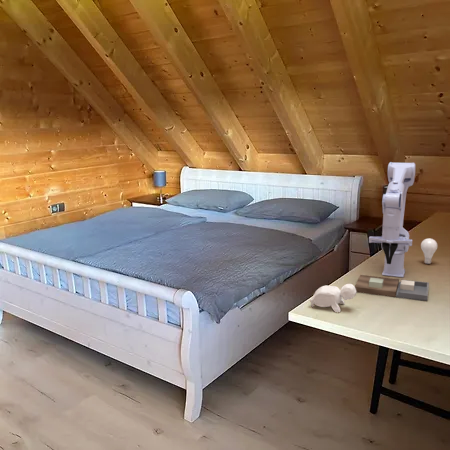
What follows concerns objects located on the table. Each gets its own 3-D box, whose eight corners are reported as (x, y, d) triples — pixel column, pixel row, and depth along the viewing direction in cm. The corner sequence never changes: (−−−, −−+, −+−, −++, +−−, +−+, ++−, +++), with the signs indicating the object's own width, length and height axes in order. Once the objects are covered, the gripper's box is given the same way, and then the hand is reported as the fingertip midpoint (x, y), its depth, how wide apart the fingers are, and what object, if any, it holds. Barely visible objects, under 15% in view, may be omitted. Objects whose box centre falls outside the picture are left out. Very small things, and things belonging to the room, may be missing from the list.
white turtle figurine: (314, 318, 157) (358, 308, 150) (305, 294, 157) (349, 284, 150) (320, 308, 165) (362, 299, 158) (312, 286, 164) (354, 275, 157)
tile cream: (401, 285, 175) (401, 279, 175) (414, 286, 174) (414, 281, 173) (400, 289, 171) (400, 283, 171) (413, 290, 170) (413, 285, 169)
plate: (360, 279, 183) (360, 274, 183) (398, 284, 178) (399, 279, 177) (354, 292, 171) (354, 286, 170) (395, 297, 165) (395, 291, 165)
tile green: (370, 282, 174) (370, 277, 174) (383, 284, 172) (383, 279, 172) (368, 286, 170) (369, 281, 170) (381, 288, 168) (382, 283, 168)
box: (399, 284, 177) (399, 279, 177) (428, 287, 173) (428, 282, 173) (395, 297, 165) (396, 291, 165) (427, 301, 161) (427, 295, 161)
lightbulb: (426, 266, 197) (428, 241, 194) (416, 262, 203) (418, 237, 200) (439, 265, 198) (441, 239, 196) (429, 261, 204) (431, 236, 202)
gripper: (368, 227, 168) (366, 264, 171) (412, 230, 162) (409, 268, 165) (370, 223, 174) (369, 258, 177) (413, 226, 169) (410, 262, 172)
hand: (388, 263), depth 172 cm, fingers closed
